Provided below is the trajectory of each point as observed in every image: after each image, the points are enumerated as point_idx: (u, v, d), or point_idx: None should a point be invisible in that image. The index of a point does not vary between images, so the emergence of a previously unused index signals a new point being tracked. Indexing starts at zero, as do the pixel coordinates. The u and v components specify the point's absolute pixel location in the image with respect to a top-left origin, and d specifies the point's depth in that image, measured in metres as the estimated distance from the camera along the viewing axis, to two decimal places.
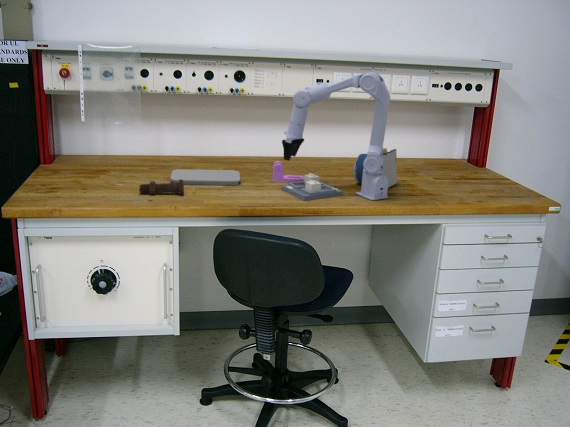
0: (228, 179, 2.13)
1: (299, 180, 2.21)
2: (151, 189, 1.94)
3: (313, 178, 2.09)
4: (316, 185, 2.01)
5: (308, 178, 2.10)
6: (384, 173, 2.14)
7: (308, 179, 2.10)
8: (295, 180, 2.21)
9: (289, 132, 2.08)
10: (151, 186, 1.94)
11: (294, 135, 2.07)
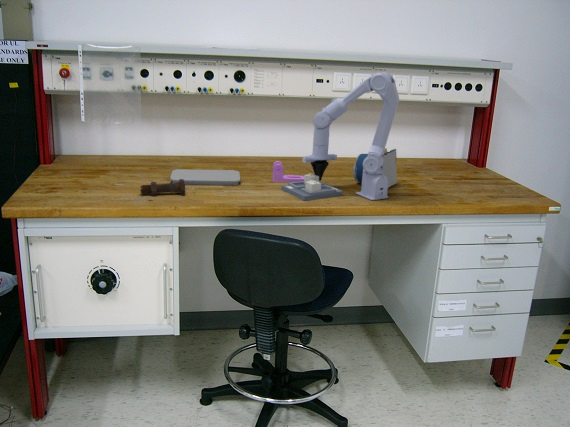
0: (228, 179, 2.13)
1: (299, 180, 2.21)
2: (153, 190, 1.94)
3: (313, 178, 2.09)
4: (316, 185, 2.01)
5: (308, 178, 2.10)
6: (384, 173, 2.14)
7: (308, 179, 2.10)
8: (295, 180, 2.21)
9: (312, 153, 2.10)
10: (152, 187, 1.94)
11: (314, 156, 2.08)
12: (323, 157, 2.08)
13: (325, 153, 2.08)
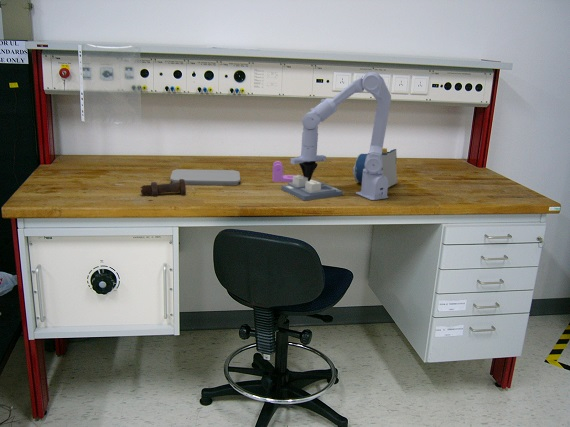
0: (228, 179, 2.13)
1: None
2: (154, 190, 1.93)
3: (301, 179, 2.07)
4: (316, 185, 2.01)
5: (296, 179, 2.07)
6: (384, 173, 2.14)
7: (296, 180, 2.07)
8: None
9: (301, 155, 2.08)
10: (153, 187, 1.94)
11: (303, 157, 2.06)
12: (312, 158, 2.05)
13: (314, 154, 2.05)
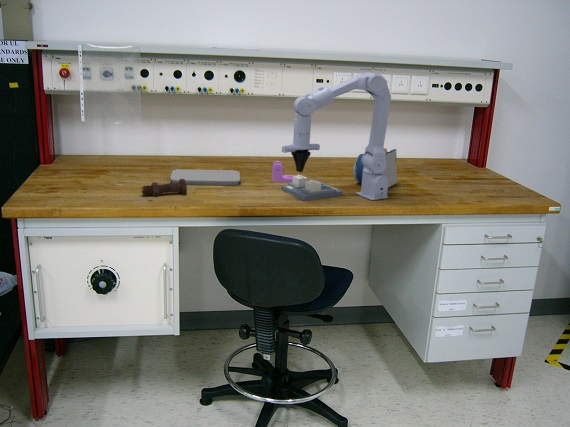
0: (228, 179, 2.13)
1: None
2: (155, 190, 1.93)
3: (301, 179, 2.07)
4: (316, 185, 2.01)
5: (296, 179, 2.07)
6: (384, 173, 2.14)
7: (296, 180, 2.07)
8: None
9: (293, 143, 1.95)
10: (154, 187, 1.93)
11: (295, 145, 1.94)
12: (304, 146, 1.93)
13: (306, 142, 1.93)
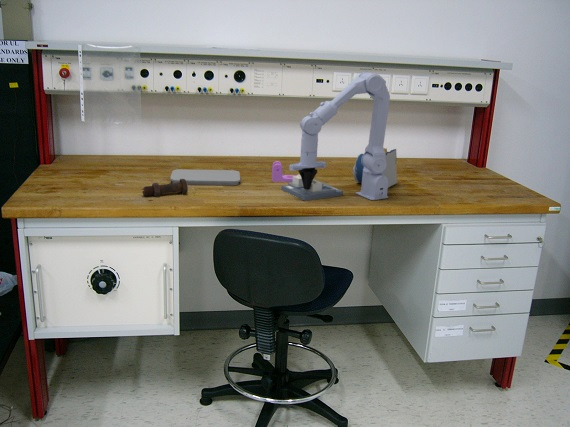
0: (228, 179, 2.13)
1: None
2: (156, 191, 1.93)
3: (301, 179, 2.07)
4: (317, 185, 2.01)
5: (296, 179, 2.07)
6: (384, 173, 2.14)
7: (296, 180, 2.07)
8: None
9: (300, 161, 1.98)
10: (156, 188, 1.93)
11: (302, 164, 1.96)
12: (311, 165, 1.96)
13: (313, 160, 1.96)
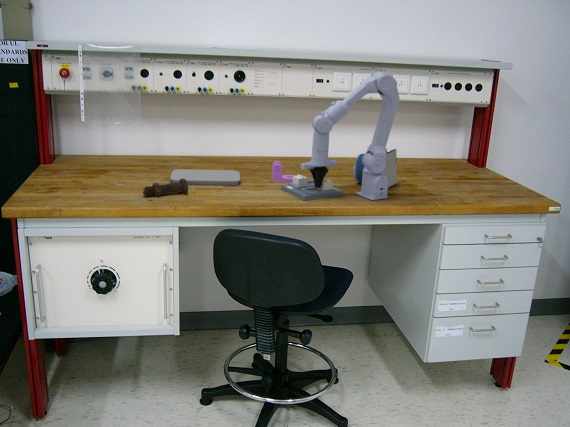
0: (228, 179, 2.13)
1: None
2: (157, 191, 1.93)
3: (301, 179, 2.07)
4: (328, 183, 2.04)
5: (296, 179, 2.07)
6: (384, 173, 2.14)
7: (296, 180, 2.07)
8: None
9: (311, 160, 2.01)
10: (156, 188, 1.93)
11: (314, 162, 1.99)
12: (323, 163, 1.98)
13: (325, 159, 1.98)
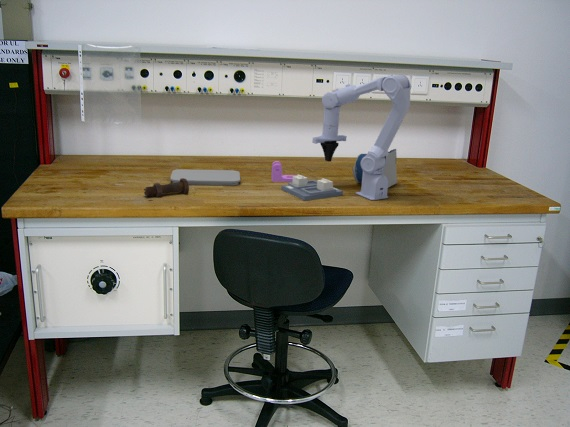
0: (228, 179, 2.13)
1: None
2: (159, 191, 1.92)
3: (301, 179, 2.07)
4: (328, 183, 2.04)
5: (296, 179, 2.07)
6: (384, 173, 2.14)
7: (296, 180, 2.07)
8: None
9: (322, 134, 2.11)
10: (158, 188, 1.93)
11: (325, 137, 2.10)
12: (333, 137, 2.09)
13: (335, 133, 2.09)
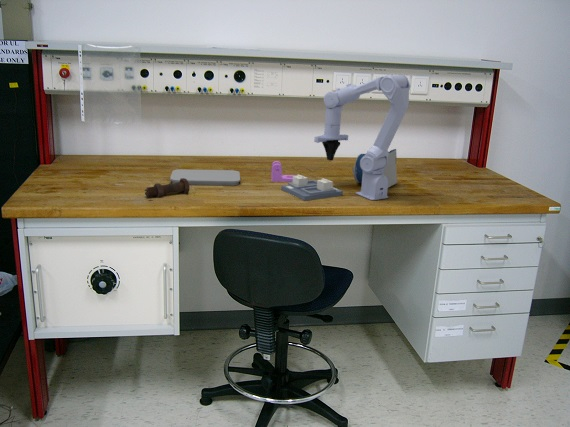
0: (228, 179, 2.13)
1: None
2: (160, 191, 1.92)
3: (301, 179, 2.07)
4: (328, 183, 2.04)
5: (296, 179, 2.07)
6: (384, 173, 2.14)
7: (296, 180, 2.07)
8: None
9: (324, 133, 2.13)
10: (159, 188, 1.92)
11: (326, 136, 2.11)
12: (335, 137, 2.11)
13: (337, 133, 2.11)
